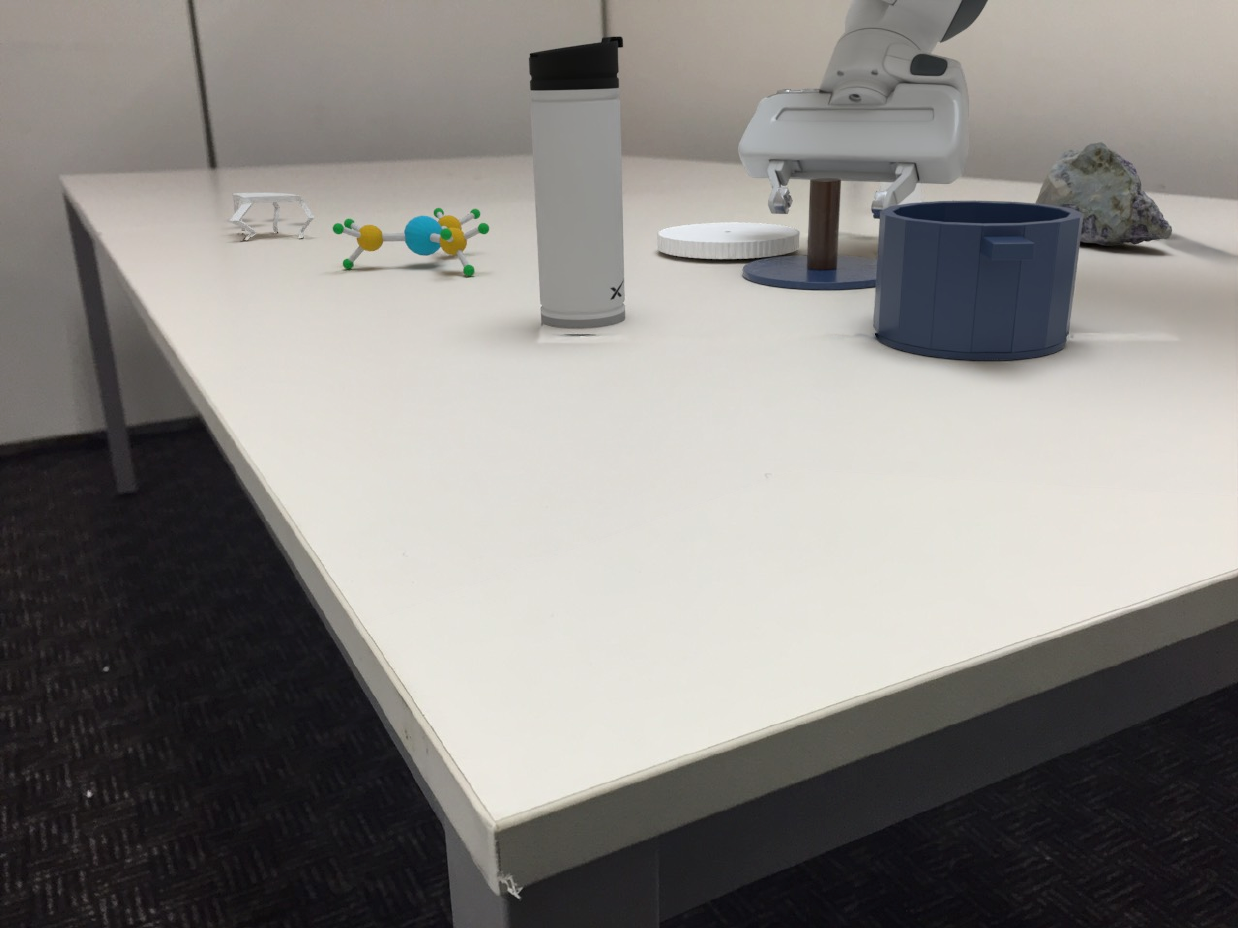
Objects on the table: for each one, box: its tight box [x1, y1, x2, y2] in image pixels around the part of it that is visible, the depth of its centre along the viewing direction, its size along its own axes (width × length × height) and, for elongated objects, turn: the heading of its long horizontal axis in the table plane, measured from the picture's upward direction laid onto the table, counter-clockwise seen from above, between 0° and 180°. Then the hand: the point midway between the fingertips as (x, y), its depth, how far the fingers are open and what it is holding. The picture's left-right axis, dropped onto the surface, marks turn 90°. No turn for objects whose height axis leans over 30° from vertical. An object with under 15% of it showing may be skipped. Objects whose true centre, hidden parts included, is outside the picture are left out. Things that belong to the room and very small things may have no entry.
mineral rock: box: [1035, 141, 1173, 247], centre depth 107 cm, size 13×11×10 cm
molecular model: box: [332, 207, 490, 277], centre depth 105 cm, size 16×5×15 cm
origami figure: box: [229, 192, 315, 239], centre depth 127 cm, size 12×8×5 cm
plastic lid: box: [656, 221, 800, 260], centre depth 107 cm, size 14×14×2 cm
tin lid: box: [742, 178, 877, 291], centre depth 93 cm, size 14×14×9 cm
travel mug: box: [528, 35, 626, 336], centre depth 76 cm, size 6×7×20 cm
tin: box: [872, 200, 1084, 361], centre depth 72 cm, size 13×18×8 cm
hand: (827, 212), depth 93 cm, fingers open, 8 cm apart
